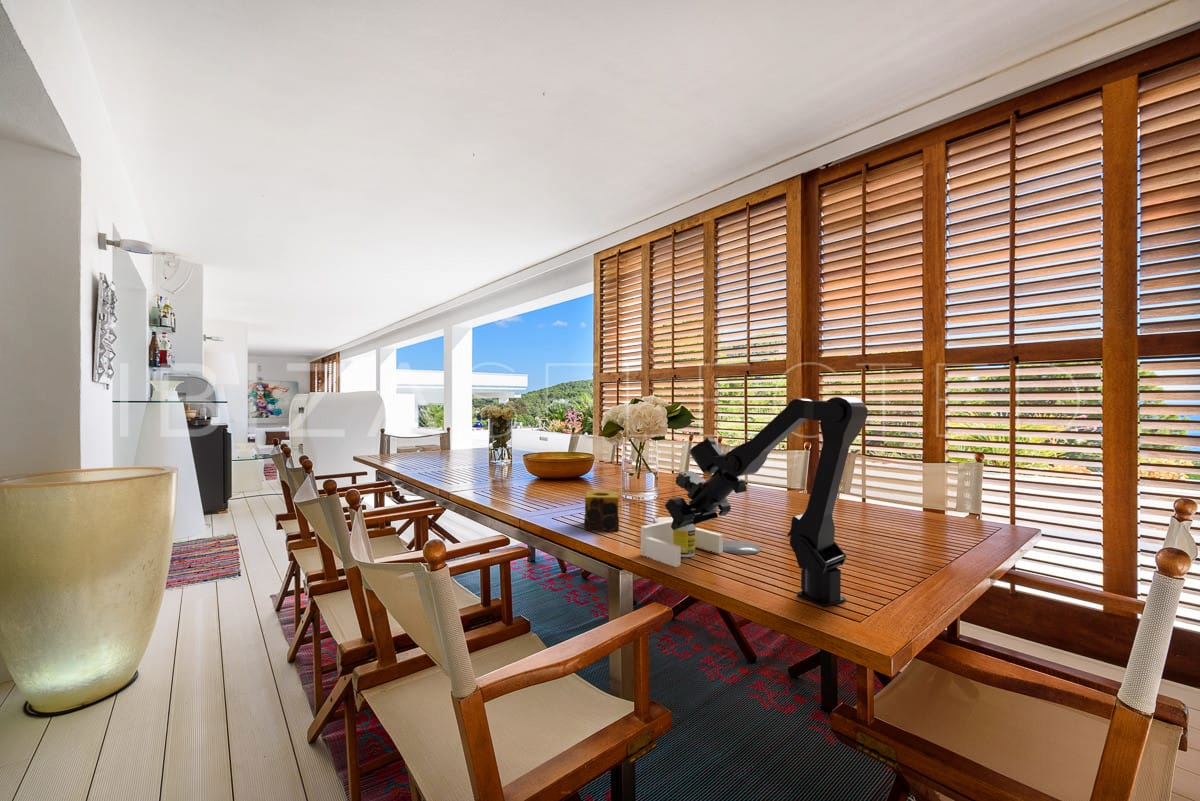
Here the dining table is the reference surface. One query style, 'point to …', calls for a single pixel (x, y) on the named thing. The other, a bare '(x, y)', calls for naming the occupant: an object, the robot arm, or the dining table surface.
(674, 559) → the cream u-shaped arch
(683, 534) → the supplement bottle
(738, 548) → the coaster
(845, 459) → the robot arm
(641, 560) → the dining table surface
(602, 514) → the candle
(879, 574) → the dining table surface
